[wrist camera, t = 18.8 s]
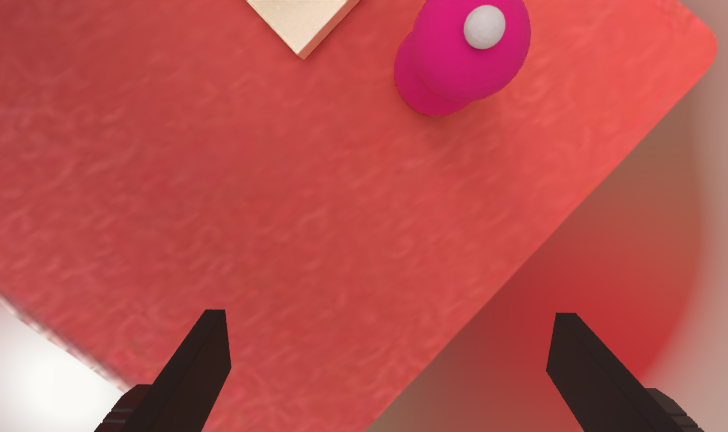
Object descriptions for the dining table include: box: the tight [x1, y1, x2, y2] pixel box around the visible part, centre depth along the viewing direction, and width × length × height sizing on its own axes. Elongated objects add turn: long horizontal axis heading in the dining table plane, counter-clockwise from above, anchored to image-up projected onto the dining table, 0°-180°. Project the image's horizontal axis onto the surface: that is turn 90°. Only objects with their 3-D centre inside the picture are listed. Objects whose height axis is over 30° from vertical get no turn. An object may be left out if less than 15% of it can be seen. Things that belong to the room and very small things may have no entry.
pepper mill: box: [394, 0, 531, 116], centre depth 27 cm, size 7×7×20 cm
